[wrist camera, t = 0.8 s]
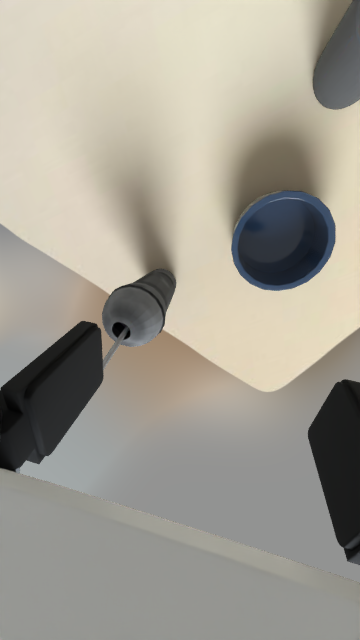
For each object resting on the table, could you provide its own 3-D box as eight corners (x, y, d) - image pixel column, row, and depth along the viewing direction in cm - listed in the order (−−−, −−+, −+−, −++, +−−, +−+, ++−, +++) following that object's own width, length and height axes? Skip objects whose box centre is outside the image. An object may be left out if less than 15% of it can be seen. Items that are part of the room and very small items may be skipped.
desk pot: (226, 205, 31) (223, 208, 26) (317, 179, 28) (335, 176, 23) (239, 282, 35) (239, 297, 30) (320, 267, 32) (335, 281, 27)
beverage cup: (184, 260, 36) (132, 323, 18) (185, 304, 39) (142, 394, 22) (138, 259, 37) (50, 317, 20) (143, 302, 41) (71, 384, 23)
